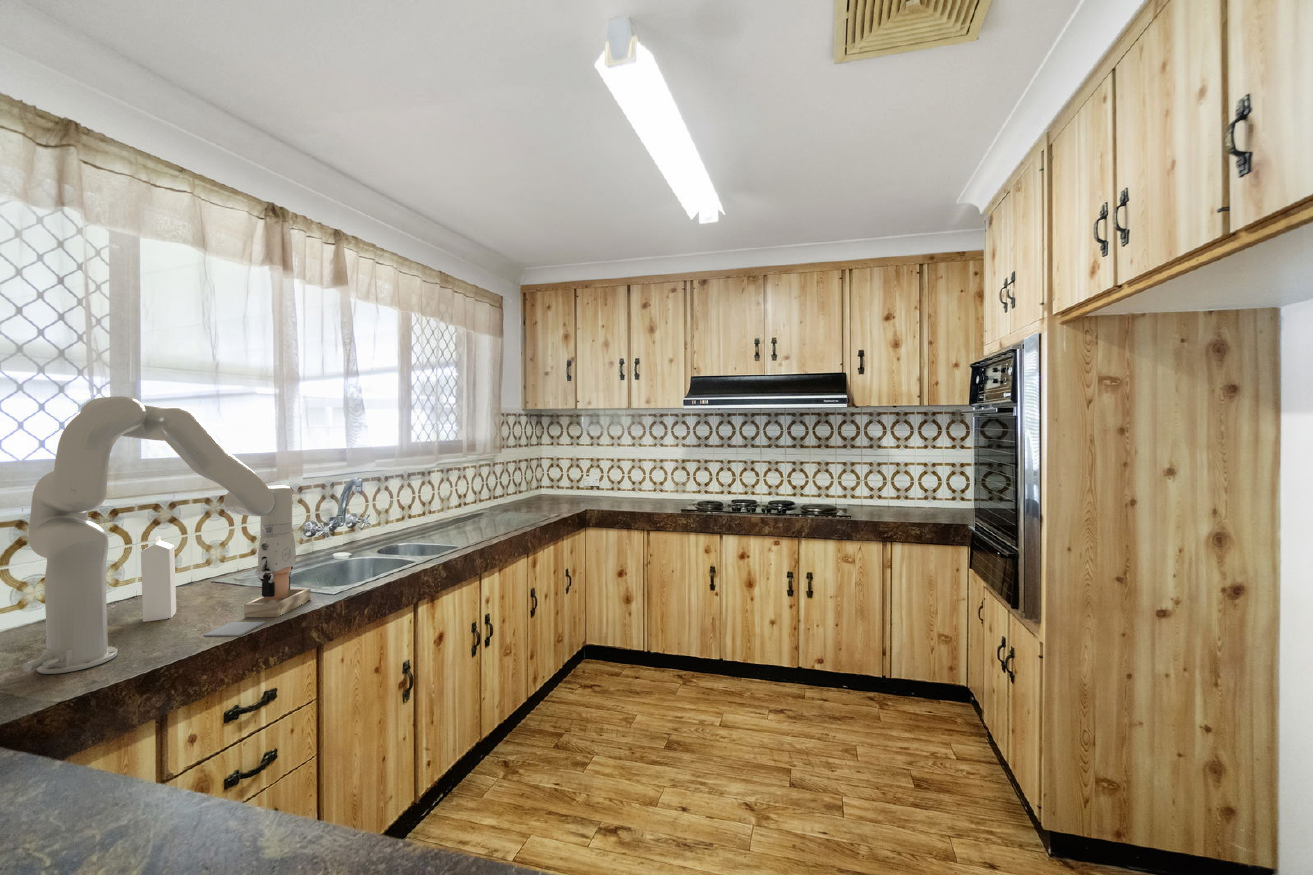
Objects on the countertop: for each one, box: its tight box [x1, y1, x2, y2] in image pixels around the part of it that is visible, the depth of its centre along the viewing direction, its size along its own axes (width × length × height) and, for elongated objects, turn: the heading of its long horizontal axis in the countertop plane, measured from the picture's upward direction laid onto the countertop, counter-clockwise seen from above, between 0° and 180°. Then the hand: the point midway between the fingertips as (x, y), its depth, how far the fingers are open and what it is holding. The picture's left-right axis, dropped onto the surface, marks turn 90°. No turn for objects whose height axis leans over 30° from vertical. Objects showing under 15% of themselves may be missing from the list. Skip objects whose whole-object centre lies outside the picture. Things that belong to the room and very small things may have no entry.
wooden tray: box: [243, 587, 312, 618], centre depth 165 cm, size 15×9×4 cm, turn 0°
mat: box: [203, 621, 266, 637], centre depth 148 cm, size 9×9×1 cm
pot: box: [264, 567, 292, 600], centre depth 164 cm, size 7×7×8 cm
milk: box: [140, 534, 177, 623], centre depth 158 cm, size 6×6×22 cm
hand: (276, 592), depth 164 cm, fingers closed on pot, 6 cm apart
